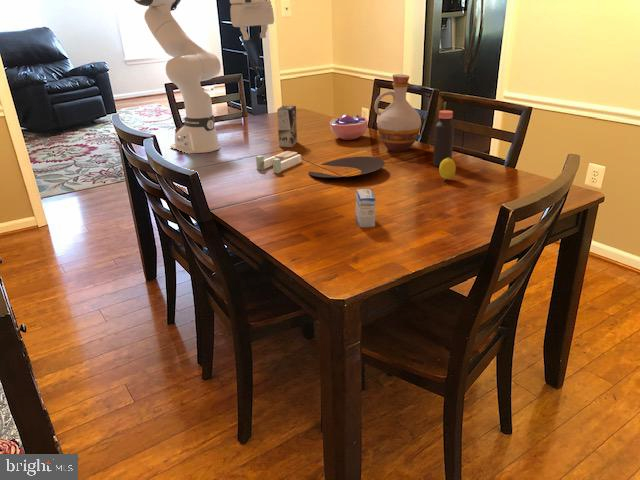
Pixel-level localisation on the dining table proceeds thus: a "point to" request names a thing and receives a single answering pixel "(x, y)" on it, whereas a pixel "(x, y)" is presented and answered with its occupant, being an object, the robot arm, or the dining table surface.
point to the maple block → (286, 155)
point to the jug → (398, 118)
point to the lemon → (447, 168)
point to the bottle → (443, 137)
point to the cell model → (349, 126)
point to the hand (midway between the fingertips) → (255, 39)
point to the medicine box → (365, 208)
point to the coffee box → (287, 126)
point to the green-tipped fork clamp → (277, 163)
